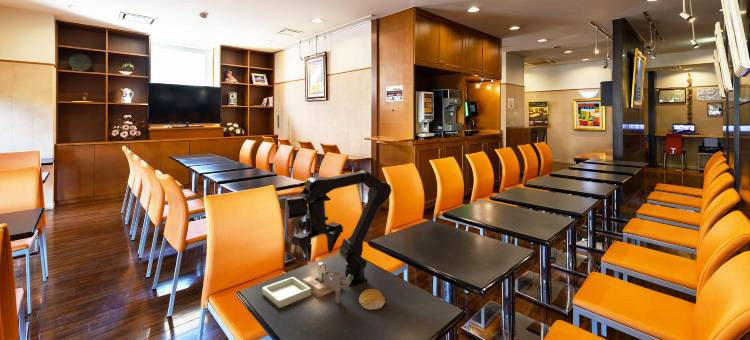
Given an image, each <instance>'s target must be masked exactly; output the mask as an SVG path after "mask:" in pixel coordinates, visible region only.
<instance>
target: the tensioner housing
mask: <svg viewBox="0 0 750 340" xmlns="http://www.w3.org/2000/svg"><path fill="white" fill-rule="evenodd" d="M330 278H331V277H330ZM331 279H332V278H331ZM302 283H304V284H305V285H307V286H308V287H310V288H311V294H313V295H314V296H316V297H318V298H320V297H322V296H325V295H328V294H329V293H333V292H335V290H334V286H327V285H325V284H324V282H323V283H319V282H318V273H316V274H313V275H311V276H308V277H304V278H302ZM341 288H342V289H343V287H341Z"/></svg>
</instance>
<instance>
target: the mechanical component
mask: <svg viewBox="0 0 750 340" xmlns="http://www.w3.org/2000/svg"><path fill="white" fill-rule="evenodd" d="M330 277H331V278H332V279H331V278H330ZM322 278H323V279H324V284H325V285H327V286H334V290H335V291H334V292H335V303H336V304H340V303H341V291H342V290H343V288H348V287H350V285H351V280H353V275H351V274H348V277H345V276H344V275H343V273H342V272H341V271H332V270H331V271H330V270H326V272H325V273H322ZM341 287H342V288H341Z"/></svg>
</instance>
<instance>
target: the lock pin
mask: <svg viewBox="0 0 750 340" xmlns="http://www.w3.org/2000/svg"><path fill="white" fill-rule="evenodd" d="M316 265H317V274H318V282H319V283H323V282H324V279H323V278H322V273H325V272H326V271H327V263H326V262H325V261H319V262H318V263H317V264H316Z"/></svg>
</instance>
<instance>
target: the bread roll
mask: <svg viewBox="0 0 750 340" xmlns="http://www.w3.org/2000/svg"><path fill="white" fill-rule="evenodd" d="M358 303H359V304H360V306H361V307H362V308H364V309H366V310H370V311H371V310H378V309H381V308H382V307H383V306H384V305H385V303H386V298H385V296H384V295H382V293H381V292H380V290H378V289H375V288H368V289H365V290H363V291H362V292H361V294H360V295H359V297H358Z"/></svg>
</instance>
